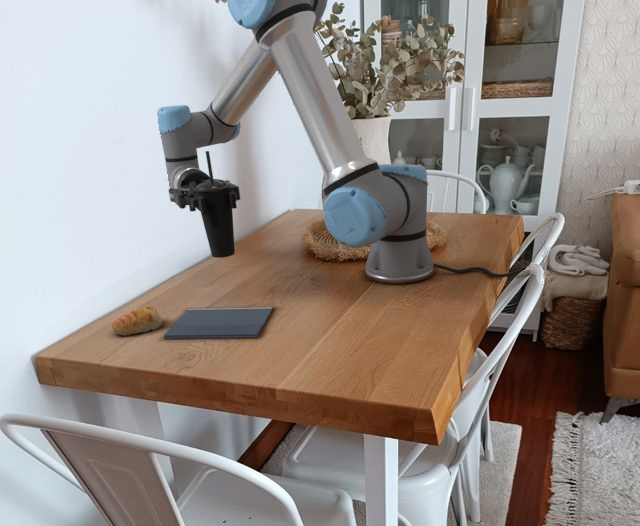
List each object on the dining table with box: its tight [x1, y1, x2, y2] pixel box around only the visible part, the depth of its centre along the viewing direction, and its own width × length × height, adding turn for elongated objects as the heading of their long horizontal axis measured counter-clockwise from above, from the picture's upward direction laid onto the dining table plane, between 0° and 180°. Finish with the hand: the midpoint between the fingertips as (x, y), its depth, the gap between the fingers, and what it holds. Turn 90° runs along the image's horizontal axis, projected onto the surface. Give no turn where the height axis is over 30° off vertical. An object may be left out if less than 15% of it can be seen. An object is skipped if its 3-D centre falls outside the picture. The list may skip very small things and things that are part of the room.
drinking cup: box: [194, 150, 236, 259], centre depth 125 cm, size 8×8×20 cm
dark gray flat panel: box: [163, 306, 274, 340], centre depth 121 cm, size 18×15×1 cm
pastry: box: [111, 304, 163, 336], centre depth 121 cm, size 9×7×4 cm
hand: (218, 203), depth 119 cm, fingers closed on drinking cup, 5 cm apart
